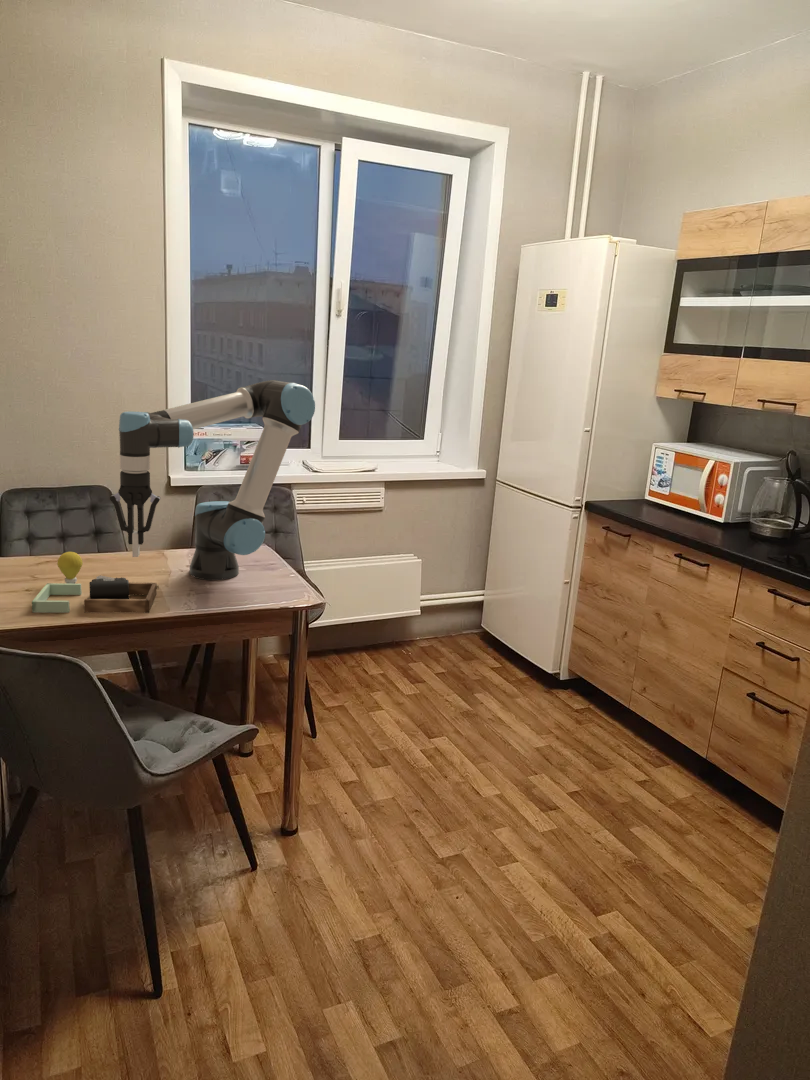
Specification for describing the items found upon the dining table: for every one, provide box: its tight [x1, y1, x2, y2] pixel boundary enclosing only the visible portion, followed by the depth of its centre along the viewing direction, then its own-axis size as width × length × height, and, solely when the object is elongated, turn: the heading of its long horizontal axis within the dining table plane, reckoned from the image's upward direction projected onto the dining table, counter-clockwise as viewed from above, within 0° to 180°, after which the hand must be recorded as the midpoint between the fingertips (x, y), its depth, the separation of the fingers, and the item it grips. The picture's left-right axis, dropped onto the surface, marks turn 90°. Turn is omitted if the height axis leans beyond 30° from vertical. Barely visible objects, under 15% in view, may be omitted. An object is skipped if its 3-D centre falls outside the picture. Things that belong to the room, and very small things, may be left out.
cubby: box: [83, 581, 158, 614], centre depth 211 cm, size 16×15×4 cm
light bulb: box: [57, 551, 83, 584], centre depth 222 cm, size 7×7×10 cm
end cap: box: [89, 577, 130, 599], centre depth 210 cm, size 10×7×7 cm
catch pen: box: [31, 582, 82, 614], centre depth 208 cm, size 9×15×3 cm, turn 10°
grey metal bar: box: [95, 574, 115, 581], centre depth 227 cm, size 10×2×2 cm, turn 71°
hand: (136, 555), depth 209 cm, fingers closed
